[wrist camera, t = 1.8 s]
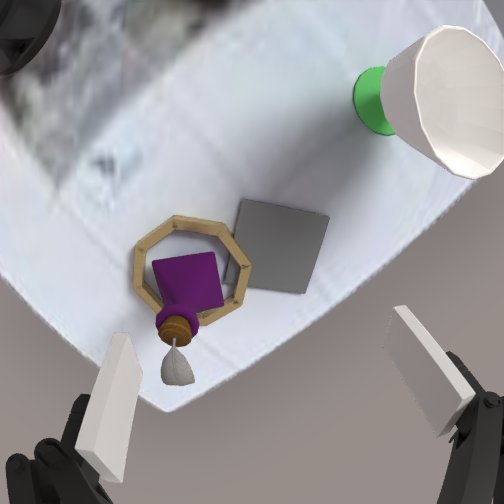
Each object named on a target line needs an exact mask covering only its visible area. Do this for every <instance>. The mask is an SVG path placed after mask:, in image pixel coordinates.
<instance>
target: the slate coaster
mask: <svg viewBox="0 0 504 504" xmlns="http://www.w3.org/2000/svg"><path fill="white" fill-rule="evenodd" d="M329 219H330V217H329V216H325V215H320V214H316V213H311V212H306V211H302V210H297V209H292V208H287V207H282V206H277V205H272V204H267V203H262V202H257V201H251V200H246V199H242V201H241V206H240V210H239V215H238V220H237V224H236V229H235V234H234V239H235V240H236V242H237V243H238V245H239V246H240V247H241V249H242V250H243V251H244V253H245V254H246V256H247V257H248V258H249V260H250V261H251V264H252V267H251V271H250V275H249V279H248V283H247V286H250V287H257V288H265V289H272V290H279V291H287V292H295V293H303V294H305V293H306V290H307V287H308V284H309V281H310V278H311V275H312V272H313V269H314V266H315V263H316V260H317V257H318V254H319V251H320V248H321V245H322V242H323V238H324V235H325V232H326V229H327V226H328V222H329ZM239 270H240V265H239V263H238V262H237V261H236V259H235V258H234V257H233V255H232V254H231V253H230V257H229V262H228V267H227V272H226V276H225V283H229V284H237V279H238V275H239Z"/></svg>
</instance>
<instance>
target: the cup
mask: <svg viewBox="0 0 504 504" xmlns="http://www.w3.org/2000/svg"><path fill="white" fill-rule="evenodd" d="M354 103H355V107H356V110H357V114H358V115H359V116H360V118H361V119H362V121H363V122H364V124H365V125H366V126H368V127H369V128H370V129H372V130H373V131H375V132H376V133H380V134H385V135H392V134H396V135H397V136H398V137H400V138H401V139H402V140H403V141H405V142H406V143H407V144H408V145H410V146H411V147H413V148H414V149H416V150H417V151H419V152H420V153H422V154H424V155H425V156H427V157H428V158H430V159H431V160H433V161H434V162H436V163H437V164H438V165H440V166H441V167H443V168H444V169H446V170H447V171H448V172H450V173H451V174H453V175H456V176H460V177H463V178H467V179H471V180H474V179H477V178H480V177H483V176H486V175H489V174H490V173H492V171H494V169H495V168H496V167H497V166H498V165H499V164H500V163H501V162H502V160H503V159H504V69H503V67H502V65H501V63H500V60H499V59H498V58H497V56H496V55H495V54H494V53H493V51H492V50H491V49H490V48H489V46H488V45H487V44H486V43H485V42H484V40H482V39H481V38H479V37H478V36H476V35H475V34H473V33H471V32H470V31H468V30H467V29H465V28H463V27H458V26H446V25H441V26H440V27H438V28H436V29H435V30H433V31H431V32H430V33H428V34H427V35H425V36H424V37H422V38H421V39H419V40H418V41H416V42H415V43H414V44H412V45H411V46H409V47H408V48H407V49H405V50H404V51H402V52H401V53H400V54H398V55H397V56H396V57H394V58H393V59H392V60H390V61H389V63H388V65H387V67H383V66H382V67H374V68H370V69H368V70H367V71H365V72H364V73H363V74H361V75H360V77H359V79H358V81H357V83H356V84H355V89H354Z"/></svg>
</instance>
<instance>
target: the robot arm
mask: <svg viewBox="0 0 504 504" xmlns="http://www.w3.org/2000/svg"><path fill="white" fill-rule="evenodd" d="M60 8H61V0H0V75H7V74H10V73H12V72H14V71H16V70H18V69H20V68H21V67H22V66H24V65H25V64H26V63H28V62H29V61H30V60H31V59H32V58H33V57H34V56H35V55H36V54H37V52H38V51H39V50H40V49H41V48H42V46H43V45H44V44H45V42H46V41H47V39H48V37H49V36H50V34H51V32H52V30H53V28H54V26H55V24H56V22H57V19H58V16H59V13H60ZM383 348H384V350H385V352H386V353H387V355H388V356H389V358H390V359H391V361H392V362H393V364H394V366H395V368H396V369H397V371H398V372H399V374H400V375H401V377H402V379H403V381H404V382H405V384H406V385H407V387H408V389H409V390H410V392H411V394H412V396H413V397H414V398H415V401H416V402H417V404H418V406H419V407H420V409H421V411H422V412H423V414H424V416H425V418H426V420H427V421H428V423H429V425H430V427H431V428H432V430H433V432H434V434H435V435H436V437H437V438H438V437H440V436H442V435H444V434H447V433H449V432H450V431H451V429H452V428H453V427H454V425H456V426H457V428H458V430H457V431H456V432H455V433H454V435H453V436H452V437H451V439H450V440H449V443H451V441H453V439H454V443H453V447H452V452H451V456H450V460H449V464H448V468H447V472H446V475H445V479H444V482H443V486H442V489H441V492H440V495H439V498H438V501H437V504H491V502H492V498H493V504H504V396H503V397H500V396H499V395H497V394H496V393H494V392H485V390H484V389H483V388H482V387H481V385H480V384H479V383H478V381H477V380H476V379H475V377H474V376H473V375H472V374H471V373H470V371H468V369H467V367H466V366H465V365H464V364H463V362H462V361H461V360H460V358H459V357H457V356H456V355H455V354H453V353H452V352H450V351H449V352H446V353H445V352H444V351H443V350H442V349H441V347H440V346H439V345H438V344H437V342H436V341H435V340H434V339H433V337H432V336H431V335H430V334H429V333H428V332H427V330H426V329H425V328H424V327H423V325H421V323H420V322H419V321H418V319H417V318H416V317H415V316H414V315H413V314H412V312H411V311H410V310H409V309H408V308H407V307H406V306H405V305H403V306H397V307H393V310H392V314H391V318H390V323H389V326H388V330H387V334H386V337H385V341H384V345H383ZM142 374H143V372H142V369H141V367H140V364H139V361H138V359H137V356H136V353H135V350H134V347H133V344H132V342H131V339H130V336H129V333H114V335H113V338H112V340H111V343H110V345H109V348H108V350H107V353H106V355H105V358H104V361H103V363H102V366H101V369H100V372H99V375H98V377H97V380H96V383H95V385H94V388H93V391H92V394H91V395H88V394H81V395H80V396H79V397H78V398H77V399H76V400H75V402H74V404H73V407H72V409H71V414H70V415H69V418H68V421H67V424H66V427H65V430H64V432H63V435H62V439H61V442H59V441H58V440H56V439H54V438H46V439H43V440H41V441H40V442H39V443H38V444H37V445H36V447H35V450H34V456H35V460H29V459H28V458H27V457H26V456H25V455H23V454H19V453H16V454H13V455H12V456H10V457H9V458H8V460H7V462H6V478H7V488H8V495H9V501H10V504H113V502H112V501H111V499H110V498H109V497H108V495H107V493H106V492H105V490H104V489H103V488H102V486H101V484H99V482H98V481H99V476H101V477H102V478H103V479H104V480H105V481H111V482H118V483H122V481H123V474H124V467H125V461H126V455H127V448H128V443H129V437H130V432H131V427H132V422H133V416H134V411H135V406H136V402H137V397H138V392H139V388H140V383H141V379H142Z"/></svg>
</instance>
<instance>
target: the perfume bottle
mask: <svg viewBox="0 0 504 504" xmlns="http://www.w3.org/2000/svg"><path fill="white" fill-rule="evenodd" d="M152 267H153V270H154V274H155V277H156V281H157V284H158V287H159V291H160V294H161V297H162V300H163V304H164V307H163V308H162V309H161V311H160V312H159V313H158V314H157V315H156V324H155V325H156V328H157V330H158V335H159V337H160V338H161V340H162V341H163V342H165V343H167V344H168V345H170V346H172V348H171V349H170V351H169V352H168V353H167V355H166V356H165V357H164V359H163V362H162V366H161V378H162V381H163V382H164V383H165V384H166V385H179V386H184V385H188V384H192V383H195V379H194V375H193V372H192V370H191V367H190V365H189V364H188V362H187V360H186V358H185V357H184V356H183V355H182V354H181V353H180V352H179V351H178V349H177V348H176V347H182V346H186V345H188V344H189V343H190V342H191V339H192V338H193V337H194V336H195V335H196V334H197V333H198V328H199V324H200V323H199V320H198V318H197V316H196V313H199V312H202V311H205V310H210V309H215V308H219V307H223V306H224V299H223V294H222V289H221V284H220V279H219V274H218V268H217V263H216V258H215V253H214V252H205V253H199V254H192V255H185V256H179V257H172V258H166V259H159V260H153V261H152Z"/></svg>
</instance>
